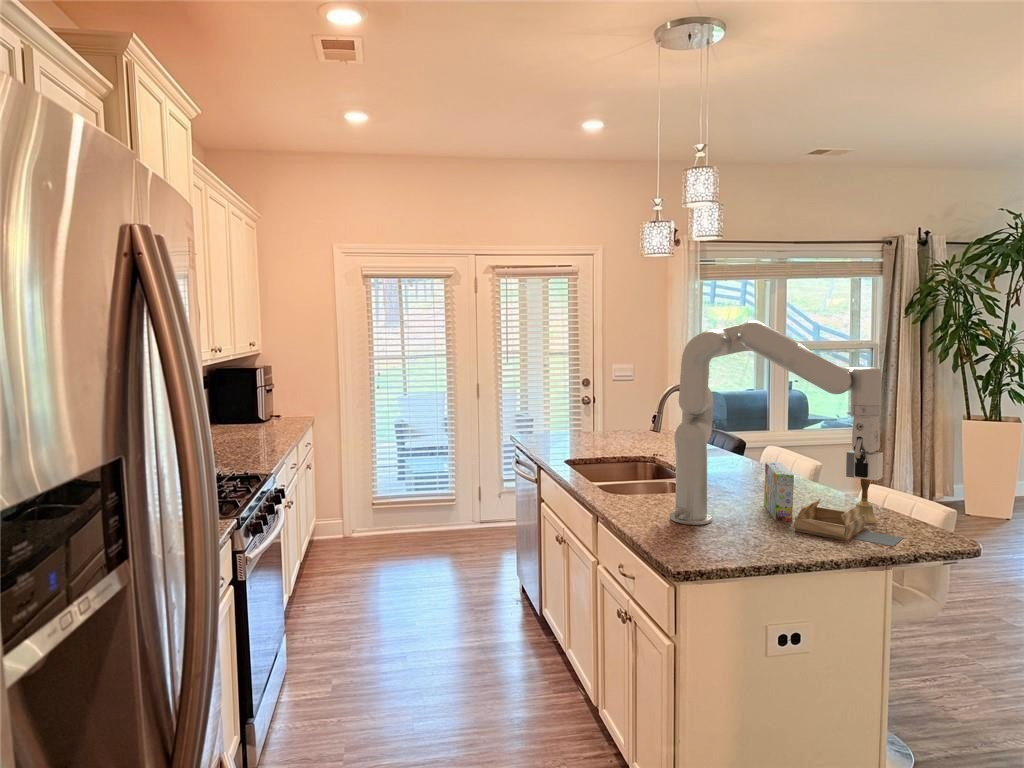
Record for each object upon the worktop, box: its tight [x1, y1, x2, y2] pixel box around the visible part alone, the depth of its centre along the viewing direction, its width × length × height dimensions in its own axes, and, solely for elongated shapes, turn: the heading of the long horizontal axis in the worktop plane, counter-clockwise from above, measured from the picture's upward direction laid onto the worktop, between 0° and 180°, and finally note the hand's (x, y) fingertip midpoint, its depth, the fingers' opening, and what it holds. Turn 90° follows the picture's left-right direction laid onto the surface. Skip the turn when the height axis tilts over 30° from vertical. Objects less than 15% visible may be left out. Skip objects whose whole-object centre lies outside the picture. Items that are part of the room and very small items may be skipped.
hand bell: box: [855, 478, 880, 524], centre depth 204 cm, size 8×8×16 cm
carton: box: [793, 498, 866, 541], centre depth 194 cm, size 20×14×7 cm
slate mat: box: [853, 530, 904, 547], centre depth 185 cm, size 10×10×1 cm
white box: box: [845, 449, 884, 481], centre depth 186 cm, size 5×8×7 cm, turn 46°
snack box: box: [763, 461, 795, 522], centre depth 213 cm, size 21×6×15 cm, turn 168°
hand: (864, 474), depth 187 cm, fingers closed on white box, 5 cm apart
